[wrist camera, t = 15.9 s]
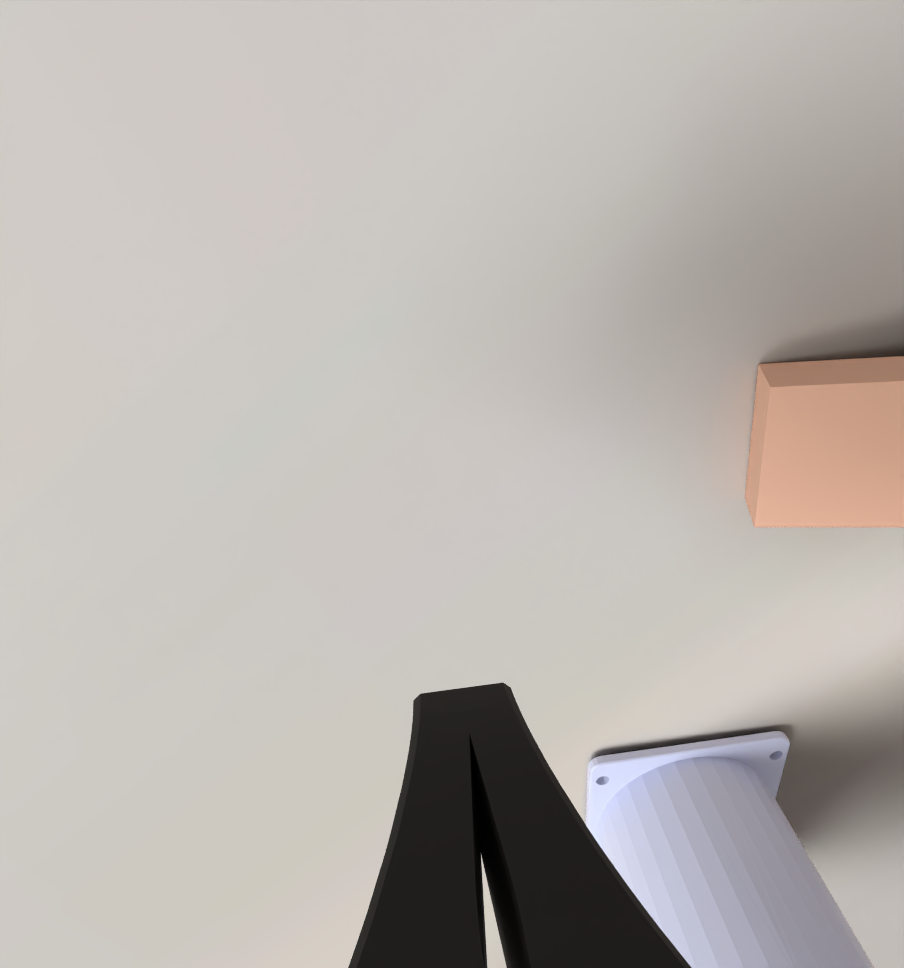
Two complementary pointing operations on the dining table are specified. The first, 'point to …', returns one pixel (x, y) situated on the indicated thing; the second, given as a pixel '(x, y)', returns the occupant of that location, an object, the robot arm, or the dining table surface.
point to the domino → (828, 444)
